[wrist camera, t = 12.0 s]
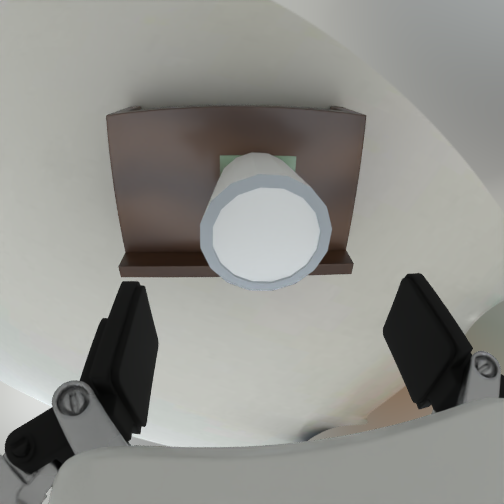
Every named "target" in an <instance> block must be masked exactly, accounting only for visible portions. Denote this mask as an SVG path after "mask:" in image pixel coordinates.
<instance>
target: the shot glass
mask: <svg viewBox="0 0 504 504" xmlns="http://www.w3.org/2000/svg"><path fill="white" fill-rule="evenodd" d="M331 232H332V227H331V222H330V218H329V214H328V210H327V206H326V205H325V204H324V203H323V201H322V200H321V199H320V198H319V196H318V195H317V194H316V193H315V191H314V190H313V189H312V188H311V187H310V186H309V185H308V184H307V183H306V182H305V181H304V180H303V179H302V178H301V177H300V176H299V175H298V174H296V173H295V172H294V171H293V170H292V169H291V168H290V167H289V166H288V165H287V164H286V163H285V162H284V161H282V160H281V159H279V158H277V157H275V156H272V155H270V154H268V153H253V152H251V153H248V154H245V155H242V156H240V157H237V158H235V159H234V160H233V161H232V162H231V163H229V164H228V165H227V166H226V167H225V168H224V169H223V172H222V174H221V176H220V178H219V180H218V182H217V184H216V187H215V189H214V192H213V194H212V196H211V199H210V201H209V204H208V206H207V208H206V211H205V213H204V216H203V218H202V221H201V223H200V248H201V250H202V252H203V254H204V256H205V258H206V260H207V262H208V264H209V266H210V268H211V269H212V270H213V271H215V272H216V273H217V274H218V275H219V276H220V277H222V278H223V279H224V280H225V281H226V282H228V283H230V284H233V285H236V286H239V287H242V288H245V289H247V290H276V289H279V288H283V287H286V286H289V285H292V284H296V283H297V282H298V281H300V280H301V279H303V278H304V277H305V276H307V275H308V274H310V273H311V272H312V271H314V270H315V269H316V267H317V266H318V264H319V263H320V261H321V260H322V258H323V257H324V256H325V254H326V253H327V251H328V246H329V242H330V237H331Z"/></svg>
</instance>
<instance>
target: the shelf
mask: <svg viewBox="0 0 504 504" xmlns="http://www.w3.org/2000/svg"><path fill="white" fill-rule="evenodd" d="M106 120H107V132H108V143H109V152H110V161H111V169H112V177H113V184H114V191H115V197H116V204H117V210H118V216H119V221H120V227H121V232H122V237H123V242H124V247H125V252H126V253H125V255H124V257H123V259H122V261H121V263H120V265H119V271H120V275H121V277H220V276H219V275H218V274H217V273H216V272H215V271H213V270H212V269H211V268H210V266H209V264H208V262H207V260H206V258H205V256H204V254H203V252H202V250H201V248H200V223H201V221H202V218H203V216H204V213H205V211H206V208H207V206H208V204H209V201H210V199H211V196H212V194H213V192H214V189H215V187H216V184H217V182H218V180H219V178H220V176H221V174H222V172H223V169H224V168H225V167H226V166H227V165H228V164H229V163H231V162H232V161H233V160H234V159H235V158H237V157H240V156H242V155H245V154H248V153H251V152H253V153H268V154H270V155H272V156H275V157H277V158H279V159H281V160H282V161H284V162H285V163H286V164H287V165H288V166H289V167H290V168H291V169H292V170H293V171H294V172H295V173H296V174H298V175H299V176H300V177H301V178H302V179H303V180H304V181H305V182H306V183H307V184H308V185H309V186H310V187H311V188H312V189H313V190H314V191H315V193H316V194H317V195H318V196H319V198H320V199H321V200H322V201H323V203H324V204H325V205H326V206H327V210H328V214H329V218H330V222H331V227H332V232H331V237H330V242H329V246H328V251H327V253H326V254H325V256H324V257H323V258H322V260H321V261H320V263H319V264H318V266H317V267H316V269H315V270H314V271H312V272H311V273H310V274H308V275H332V274H351V273H352V269H353V264H354V263H353V262H352V260H351V258H350V256H349V255H348V253H347V251H346V246H347V241H348V236H349V231H350V225H351V220H352V214H353V209H354V203H355V197H356V190H357V184H358V177H359V170H360V163H361V156H362V148H363V140H364V132H365V123H366V115H364V114H361V113H358V112H355V111H352V110H349V109H346V108H343V107H334V106H331V107H330V110H329V109H318V108H306V107H292V106H271V105H200V106H179V107H165V108H153V109H142V110H141V107H140V106H136V107H128V108H125V109H122V110H120V111H117V112H114V113H111V114H109V115H107V116H106Z"/></svg>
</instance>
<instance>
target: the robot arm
mask: <svg viewBox="0 0 504 504" xmlns="http://www.w3.org/2000/svg"><path fill="white" fill-rule="evenodd" d="M383 336H384V338H385V340H386V342H387V344H388V347H389V349H390V351H391V353H392V355H393V357H394V360H395V362H396V364H397V366H398V369H399V371H400V373H401V375H402V378H403V380H404V382H405V385H406V387H407V389H408V392H409V394H410V396H411V399H412V401H413V402H414V403H416V404H417V406H418V409H422V408H425V407H429V406H430V405H432V407H433V411H432V414H431V415H427V416H424V417H421V418H417V419H414V420H411V421H407V422H403V423H400V424H396V425H392V426H387V427H383V428H379V429H374V430H371V431H365V432H360V433H355V434H350V435H345V436H339V437H333V438H327V439H320V440H314V441H306V442H297V443H288V444H278V445H265V446H249V447H164V446H137V445H136V446H131V444H130V443H129V442H128V441H129V440H131V436H132V433H134V434H140V433H141V426H143V427H145V426H146V423H147V416H148V409H149V402H150V395H151V388H152V382H153V375H154V369H155V363H156V357H157V351H158V337H157V333H156V329H155V326H154V322H153V318H152V314H151V310H150V306H149V301H148V297H147V293H146V289H145V286H140V283H139V282H138V281H123V282H122V283H121V286H120V288H119V291H118V293H117V296H116V298H115V301H114V304H113V306H112V309H111V312H110V314H109V317H108V318H103V319H102V320H101V322H100V324H99V326H98V329H97V332H96V334H95V337H94V340H93V343H92V346H91V348H90V351H89V354H88V357H87V360H86V363H85V366H84V369H83V372H82V375H81V378H80V381H77V380H76V381H69V382H66V383H64V384H62V385H61V386H60V387H59V388H58V389H57V390H56V391H55V393H54V395H53V398H52V406H53V407H52V408H50V409H49V410H47V411H45V412H44V413H42V414H40V415H39V416H37V417H36V418H34V419H32V420H31V421H29V422H27V423H26V424H24V425H22V426H21V427H19V428H17V429H16V430H14V431H13V432H12V433H10V435H9V436H8V438H7V439H6V443H5V454H4V455H3V456H2V455H0V504H42V502H43V500H44V499H45V498H46V497H47V495H46V493H47V491H48V490H49V489H50V488H51V487H52V490H51V494H50V498H49V503H48V504H504V376H503V375H501V368H500V365H499V362H498V361H497V359H496V358H495V357H494V356H493V355H491V354H489V353H488V352H484V351H478V352H476V353H474V354H473V356H472V354H471V351H472V349H473V348H472V346H471V344H470V343H469V341H468V340H467V338H466V336H465V335H464V333H463V332H462V330H461V329H460V327H459V326H458V324H457V323H456V321H455V320H454V318H453V317H452V315H451V314H450V312H449V311H448V309H447V308H446V306H445V305H444V304H443V302H442V301H441V299H440V298H439V296H438V295H437V294H436V292H435V291H434V290H433V288H432V287H431V285H430V284H429V283H428V281H427V280H426V279H425V277H424V276H423V275H422V274H420V273H416V274H407V275H406V276H405V278H403V279H402V281H401V283H400V286H399V289H398V291H397V294H396V297H395V300H394V302H393V305H392V307H391V310H390V312H389V315H388V317H387V320H386V322H385V325H384V327H383Z"/></svg>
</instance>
